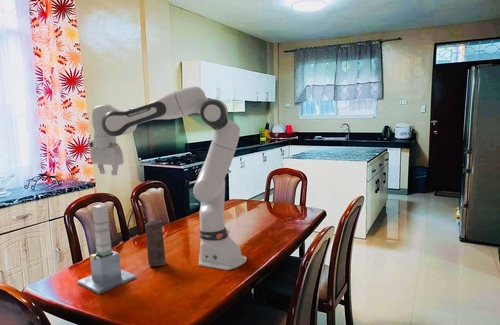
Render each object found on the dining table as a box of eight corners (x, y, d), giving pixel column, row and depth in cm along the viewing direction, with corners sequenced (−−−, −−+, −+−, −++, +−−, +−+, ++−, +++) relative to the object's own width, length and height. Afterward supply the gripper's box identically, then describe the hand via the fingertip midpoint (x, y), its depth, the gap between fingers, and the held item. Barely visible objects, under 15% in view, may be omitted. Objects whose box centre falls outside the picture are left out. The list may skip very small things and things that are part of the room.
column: (112, 258, 141) (107, 205, 138) (102, 262, 138) (97, 207, 135) (107, 256, 144) (101, 203, 141) (97, 259, 140) (91, 206, 138)
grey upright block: (156, 269, 150) (152, 224, 148) (144, 266, 154) (140, 222, 152) (169, 263, 157) (165, 219, 154) (157, 260, 161) (154, 218, 158)
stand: (135, 277, 143) (133, 248, 142) (99, 294, 131) (95, 262, 129) (114, 269, 153) (111, 241, 152) (77, 283, 141) (74, 254, 139)
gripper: (125, 142, 148) (128, 174, 150) (100, 142, 160) (102, 172, 162) (112, 143, 143) (115, 177, 145) (86, 143, 155) (89, 174, 157)
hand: (108, 174), depth 153 cm, fingers open, 8 cm apart
